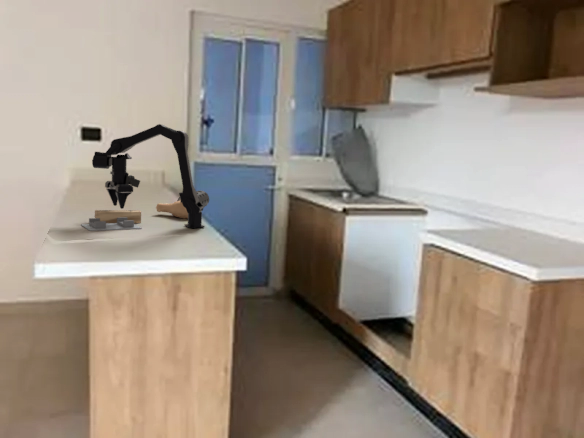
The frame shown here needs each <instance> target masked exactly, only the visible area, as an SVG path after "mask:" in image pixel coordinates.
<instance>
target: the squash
mask: <svg viewBox="0 0 584 438" xmlns="http://www.w3.org/2000/svg"><path fill="white" fill-rule="evenodd" d="M180 202H181V201H174V202H173V203H172V202H171V203H160V202H159V203H157V204H156V207H155V209H156V212H157V213H168V214H171V215H172V216H174V217H177V218H181V219H188V213H187V210H186V208H185V207H184V206H183V204H182V203H180Z"/></svg>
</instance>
